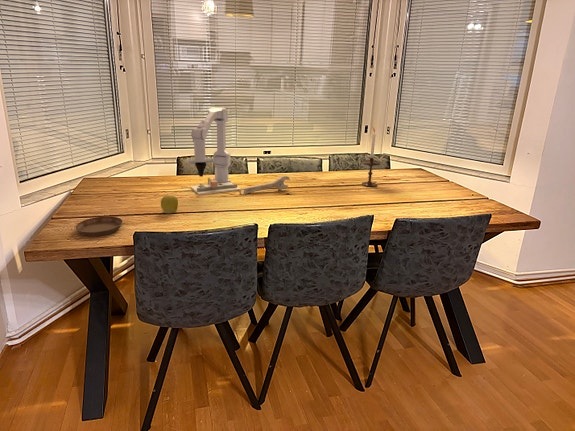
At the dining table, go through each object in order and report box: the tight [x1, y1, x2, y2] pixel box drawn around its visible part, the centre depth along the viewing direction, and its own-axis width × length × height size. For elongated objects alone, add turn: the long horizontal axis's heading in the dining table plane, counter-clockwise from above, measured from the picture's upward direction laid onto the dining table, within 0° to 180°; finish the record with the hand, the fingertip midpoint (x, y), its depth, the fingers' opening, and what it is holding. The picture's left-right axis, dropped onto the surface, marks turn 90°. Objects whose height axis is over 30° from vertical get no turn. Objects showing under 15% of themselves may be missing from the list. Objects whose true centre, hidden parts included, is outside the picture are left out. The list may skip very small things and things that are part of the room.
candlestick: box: [361, 126, 382, 188], centre depth 239 cm, size 11×11×35 cm
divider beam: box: [197, 183, 238, 192], centre depth 228 cm, size 10×23×2 cm, turn 118°
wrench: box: [239, 175, 291, 195], centre depth 225 cm, size 8×2×30 cm
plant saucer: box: [75, 215, 124, 237], centre depth 165 cm, size 18×18×3 cm
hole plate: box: [189, 181, 241, 196], centre depth 228 cm, size 16×24×1 cm, turn 118°
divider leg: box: [207, 177, 218, 188], centre depth 226 cm, size 11×3×4 cm, turn 28°
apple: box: [160, 194, 179, 214], centre depth 188 cm, size 8×8×10 cm
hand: (201, 176), depth 218 cm, fingers closed
